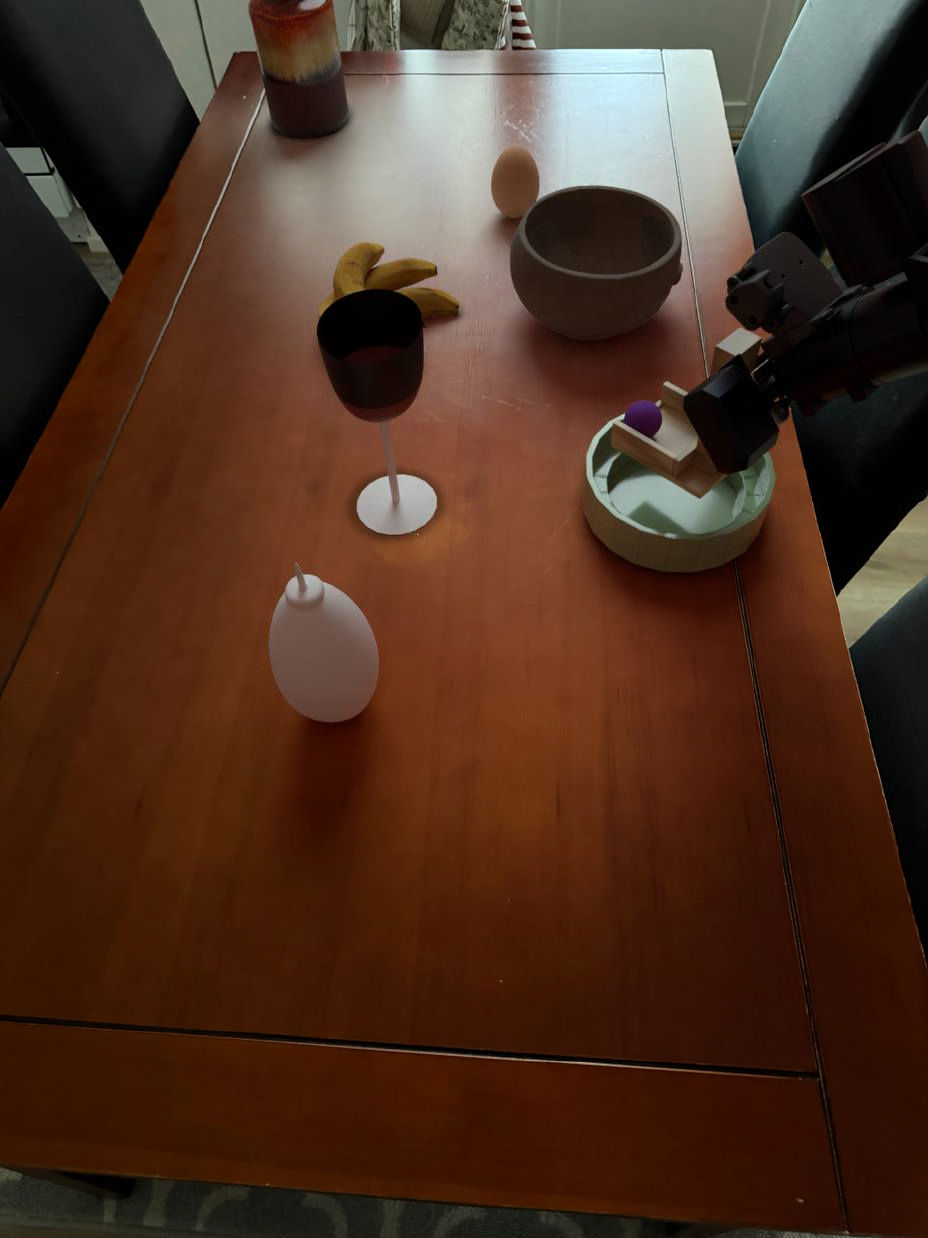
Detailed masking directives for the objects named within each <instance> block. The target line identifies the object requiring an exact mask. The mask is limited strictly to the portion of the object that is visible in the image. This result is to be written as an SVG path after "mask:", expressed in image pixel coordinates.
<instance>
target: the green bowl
mask: <svg viewBox="0 0 928 1238" xmlns="http://www.w3.org/2000/svg"><path fill="white" fill-rule="evenodd" d="M625 413H626V412H624V413H622V414H620V415H618V416H616V417H614V418H612V419H611V420H609V421H608V422H607V423H606V424H605V425H604V426H603V427H602V428H601V429H600V430H598V432H597V433H596V434H595V435H594V436H593V438H592V440H591V443H590V445H589V447H588V450H587V452H586V453H585V459H584V468H583V479H582V487H581V488H582V489H581V493H582V494H581V495H582V512H583V515H584V517H585V519H586V521H587V523H588V526H589V528H590V530H591V532H592V533H593V535H595V536H596V537H597V539H599V540H600V541H601V542H602V543H603V544H604V545H605V547H606V548H607V549H608V550H609V551H610V552H612V553H614V554H616V555H617V556H620V557H621V558H623V559H625V560H627V561H628V562H630V563H632V564H634V565H636V566H639V567H640V566H641V567H644V568H648V569H651V570H656V571H659V572H663V573H664V572H665V573H697V572H702V571H706V570H710V569H714V568H717V567H722V566H723V565H726V564H727V563H729V562H730V561H732V560H734V559H736V558H738V557H739V556H740V555H742V554H744V553H745V552H746V551H747V550H748V549H749V547H750V546H751V545H752V543H753V542H754V541H755V540H756V538H757V537H758V536H759V535H760V532H761V529H762V526H763V523H764V521H765V518H766V515H767V513H768V510H769V506H770V504H771V501H772V497H773V494H774V490H775V486H776V482H777V477H776V472H775V467H774V462H773V458H772V456H771V454H770V452H769V451H768V452H766V453H765V454H764V455H763V456H762V457H761V458H759V459H758V460H757V461H756V462H755V463H754V464H753V465H751V466H750V467H749V468H748V469H747V470H744V471H740V472H736V473H732V474H728V475H727V476H726V477H725V478H724V479H723V480H722V481H720V482H719V483H718V484H717V485H716V486H715V487H713V488H712V489H711V490H710V491H709V492H708V493H707V494H705V495H704V496H703V497H702V498H701V499H699V498H697V497H695V496H694V495H692V494H690V493H689V492H687V491H685V490H684V489H682V488H680V487H679V486H677V485H675V484H674V483H672V482H670V481H669V480H667V479H666V478H664V477H662V476H661V475H659V474H657V473H656V472H654V471H652V470H651V469H649V468H647V467H646V466H644V465H642V464H641V463H639V462H637V461H636V460H634V459H632V458H631V457H629V456H627V455H626V454H624V453H622V452H621V451H619V450H617V449H616V448H614V447H612V446H611V437H612V425H613V422H614V421H616V420H619V421H621V422H622V423H624V416H625Z"/></svg>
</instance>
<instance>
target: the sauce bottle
mask: <svg viewBox="0 0 928 1238" xmlns="http://www.w3.org/2000/svg"><path fill="white" fill-rule="evenodd" d="M294 572H295V576H293V577H292V578H291V579H289V581H288V582H287V583H286V585H285V588H284V593H283V594H282V596H280V598H279V600H278V602H277V604H276V606H275V608H274V611H273V615H272V617H271V618H272V619H271V622H270V627H269V636H268V655H269V656H268V657H269V661H270V668H271V671H272V676H273V678H274V680H275V683H276V686H277V688H278V690H279V693H280V694H281V695H282V696H283V698H284V699H285V701H286V702H287V703H288V704H289V705H290V706H291V708H293V709H294V710H295V711H297V712H298V713H299V714H301V716H302V715H303V716H304V717H306V718H309V719H310V720H314V721H317V722H322V723H339V722H344V721H348V720H350V719H352V718H354V717H356V716H357V715H359V714H360V713H362V712H363V711H364V709H365V708H366V707H367V706H368V704H370V701H371V700H372V698H373V696H374V693H375V691H376V688H377V686H378V685H377V684H378V681H379V673H380V657H379V650H378V644H377V641H376V637H375V634H374V632H373V629H372V626H371V625H370V624H369V621H368V619H367V617H366V615H365V614H364V613H363V611H362V610H361V609H360V608H359V606H358V605H357V604H356V603H355V602H354V601H353V600H352V599H351V597H350V596H348V595H347V594H346V593H344V592H343V591H342V590H340V589H339V588H337V587H335V586H333V585H332V584H330V583H327V582H325V581H322V580H321V579H320V578H319V577H318V576H316V575H315V574H314V575H313V574H308V573H306V574H303V571H302V569H301V567H300V565H299V564H298V563H297V562H295V563H294Z"/></svg>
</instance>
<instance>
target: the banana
mask: <svg viewBox="0 0 928 1238" xmlns="http://www.w3.org/2000/svg"><path fill="white" fill-rule="evenodd" d="M385 252H386V251H385V247H384V246H383V245H382V244H380V243H377V242H367V241H363V242H359V243H356V244H354V245H352V246H351V247H350V248H348V249H347V250H346V251H345V252H344V253H343V254H342V256H341V257H340V258H339V260H338V262H337V264H336V266H335V269H334V274H333V279H332V289H333V291H332V292H331V293H329V295H328V296H327V297H326V298H325V299H324V300H323V301H322V302H321V304H320V306H319V308H318V320H319V319H320V317H321V315H322V314H323V312H324V311H325V310H326V309H327V308H328V307H329V306H330V305H331V304H332V303H334V302H335V301H337V300H338V299H340V298H342V297H344V296H346V295H348V294H351V293H354V292H357V291H362V290H369V289H385V290H391V291H396V292H398V293H401V294H403V295H405V296H407V297H409V298H410V299H411V300H413V301H414V302H415V303H416V304H417V306H418V307H419V309H420V311H421V314H422V320H423V329H427V326H426V322H425V320H424V319H423V318H428V317H438V316H443V315H444V316H445V315H447V316H448V315H457V314H459V309H460V302H459V301H458V299H456V298H455V297H454V296H452V295H451V294H450V293H448V292H447V291H445V290H442V289H439V288H435V287H423V286H422V287H421V286H419V287H411V286H413V285H417V284H418V283H421V282H422V281H425V280H427V279H430V278H435V277H436V276H438V275H439V274H438V273H439V272H438V266H437V265H436V264H435V263H433V262H431V261H428V260H424V259H420V258H412V257H407V258H401V259H396V260H393V261H389V262H386V263H382V264H379V265H377V264H378V263H379V261H380V260H381V258H382V256H383V255H384V254H385ZM376 265H377V266H376ZM408 287H409V288H408ZM410 287H411V288H410Z"/></svg>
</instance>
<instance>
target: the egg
mask: <svg viewBox="0 0 928 1238" xmlns="http://www.w3.org/2000/svg"><path fill="white" fill-rule="evenodd" d="M490 179H491V181H490V191H491V196H492V201H493V203H494V205H495V207H496V208H497V209H498V210H499V212H500V213H501V214H502V215H503V216H505V217H507V218H509V219H510V218H511V219H519V218H523V217H524V215H525V213H526V211H527V210H528V208H529V207H530V206H531V205H532V204H534V203H535V202H536V201H538V198H539V193H540V187H541V186H540V173H539V170H538V166H537V163H536V161H535V159H534V157H533V156H532V154H531V152H529V151H528V150H527V149H526V148H525V147H524V146H521V145H511V146H509V147H507V148H506V149H504V150H503V151H502V152H501V154H500V155H499V156H498V158H497V160H496V162H495V164H494V166H493V170H492V173H491V178H490Z"/></svg>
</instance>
